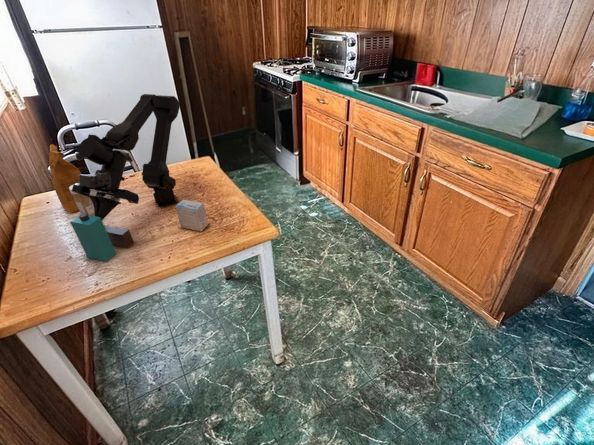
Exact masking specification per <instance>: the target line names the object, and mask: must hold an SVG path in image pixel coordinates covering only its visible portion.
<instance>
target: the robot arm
mask: <svg viewBox="0 0 594 445" xmlns="http://www.w3.org/2000/svg"><path fill="white" fill-rule="evenodd" d="M180 107H181V104H180V101H179V100H178V97H176V96H174V95H162V94H161V95H160V94H158V95H157V94H152V93H143V94H141V95H140V97H139V100H138V102H137V103H136V104H135V106H134V107H133V108H132V109H131V110H130V112H129V113H128V115H127V116H126V117H125V119H124V120H122V122H120V123H118V124H115V125H113V126H112V127H111V129H109V130H107V132H106V133H105V135H104V136H102V137H101V138H100V136H98V135H96V134H91V133H89V134H88V135H87V137H86V138H84V139H83V140H82V141H81V142H80V143H79V144H78V146H77V153H78V155H79V156H80V157H81V158H84V159H86V160H88V161H89V162H92V163H93V164H96V165H98V166H101V168H100V169H96V170H95V172H94V174H93V173H89V174H88V173H87V174H86V173H85V174H82V173H81V174H80V175H79V183H76V184H74V185H73V188H72V192H75V193H78V194H81V195H84V196H87V197H89V198H90V199H91V200H92V202H93V206H94V213H95V216H96V217H101V220H102V221H103V220H105V218H106V217H107V216H108V215H109V214H110V213H111V212H112V211H113V210H114V209H115V208H116V207H118V206H119V205H121V204H122V202H121V200H126V201H127V202H128V203H129V204H134V205H138V204H139V200H140V196H139V194H138V193H135V192H133V191H131V190H129V189H123V188H120V187H121V182H124V181H126V177H124V176H123V175H124V172H125V168H126V164H127V163H133V159H132V157H131V156H130V153H129V151H133V150H134V149H135V147H136V146H137V143H138V141H139V139H140V136H139V132H140V131H141V129H142V128H143V126H144V125H145V124H146V123H147V120H148V119H149V118H150V116H151V115H152V113H153V114H154V117H155V119H156V120H155V128H154V134H153V140H152V148H151V154H150V155H151V156H150V159H149V161H148V163H143V165H142V171H141V175H140V176H141V178H142V179H141V180H142V182H143V183H144V184H145V185H146V187H147V188H148V189H153V190H152V195H153V199H154V202H155V204H156V205H157V206H158V208H161V207H166V206H170V205H173V204H176V203H177V204H178V201H177V199H176V197H175V193H174V189H175V186H176V185H177V181H176V179H175V178H173V177H172V176H170V170H169V167H168V165H167V157H168V152H169V143H170V136H171V131H172V124H173V123H174V121H175V120H176V119H177V117H178V115H179V113H180V112H179V111H180ZM122 151H127V152H122Z"/></svg>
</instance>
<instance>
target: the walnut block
mask: <svg viewBox="0 0 594 445" xmlns="http://www.w3.org/2000/svg"><path fill="white" fill-rule="evenodd" d="M104 227H105V229H106V231H107V234H108V236H109V238H110V241H111V243H112V245H113V247H114V246H115V247H119V248H125V249H128V248H130V247H131V245H133V244H134V243H135V241H134V238H133V236H132V233H131V230H130V229H128V228H123V227H117V226H111V225H105V224H104Z"/></svg>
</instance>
